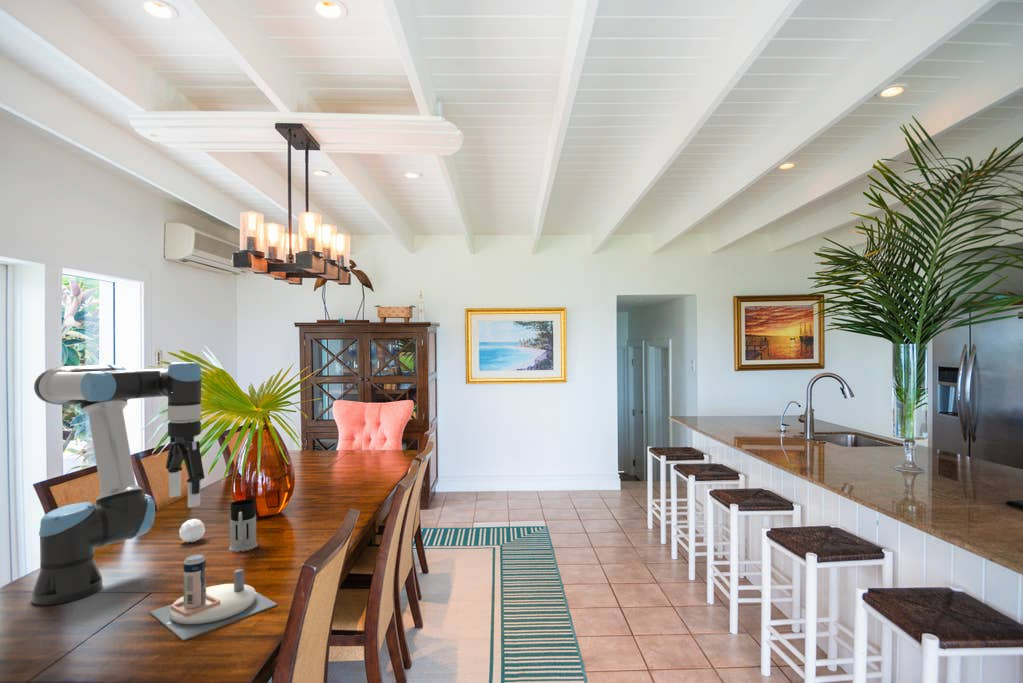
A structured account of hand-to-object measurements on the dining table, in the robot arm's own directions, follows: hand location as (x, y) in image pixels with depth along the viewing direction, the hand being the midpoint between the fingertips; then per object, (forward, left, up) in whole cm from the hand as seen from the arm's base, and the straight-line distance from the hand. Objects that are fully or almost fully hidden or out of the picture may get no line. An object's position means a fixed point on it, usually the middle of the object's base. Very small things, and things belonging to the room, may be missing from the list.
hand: (184, 501), depth 146 cm
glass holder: (+27, +27, -26) cm, 46 cm away
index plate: (+3, -11, -26) cm, 29 cm away
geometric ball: (+20, +50, -26) cm, 60 cm away
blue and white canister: (-2, -11, -24) cm, 26 cm away
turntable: (+3, -11, -26) cm, 29 cm away
